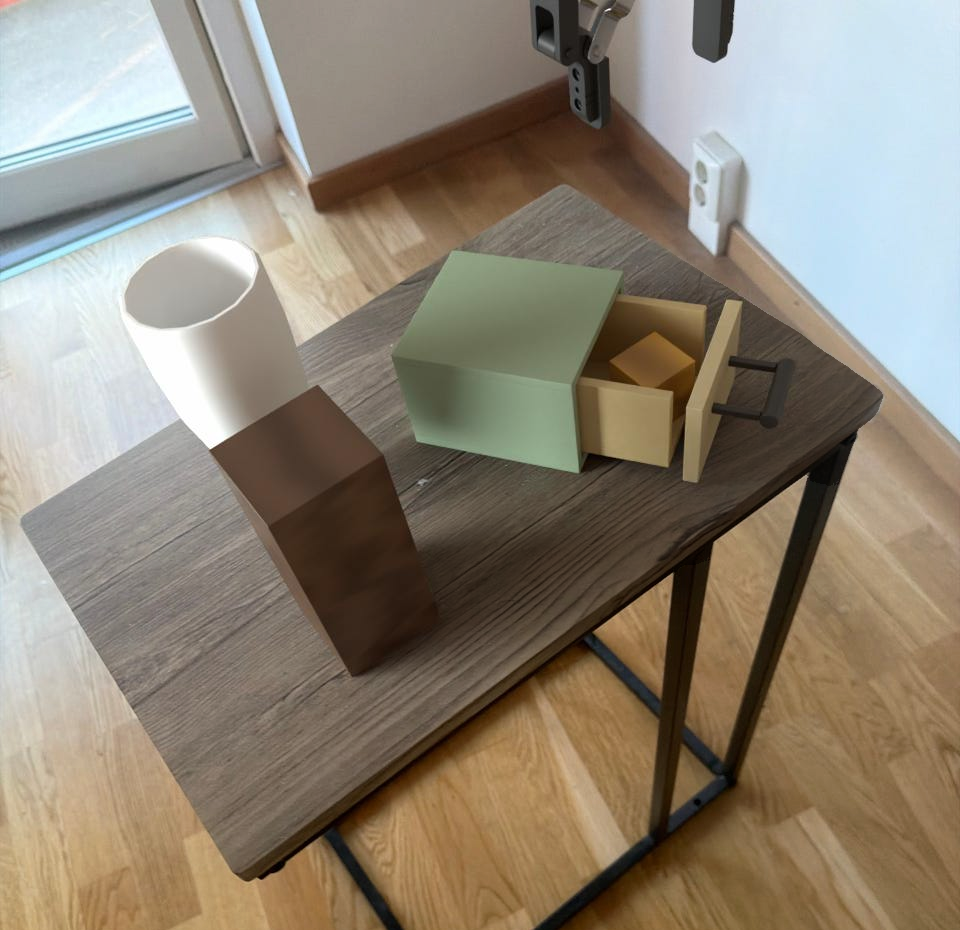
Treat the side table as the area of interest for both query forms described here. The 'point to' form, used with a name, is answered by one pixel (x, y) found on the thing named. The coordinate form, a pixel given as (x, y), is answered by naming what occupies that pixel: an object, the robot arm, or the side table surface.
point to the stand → (331, 526)
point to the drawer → (649, 412)
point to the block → (656, 369)
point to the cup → (213, 334)
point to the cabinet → (504, 356)
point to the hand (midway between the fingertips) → (653, 88)
